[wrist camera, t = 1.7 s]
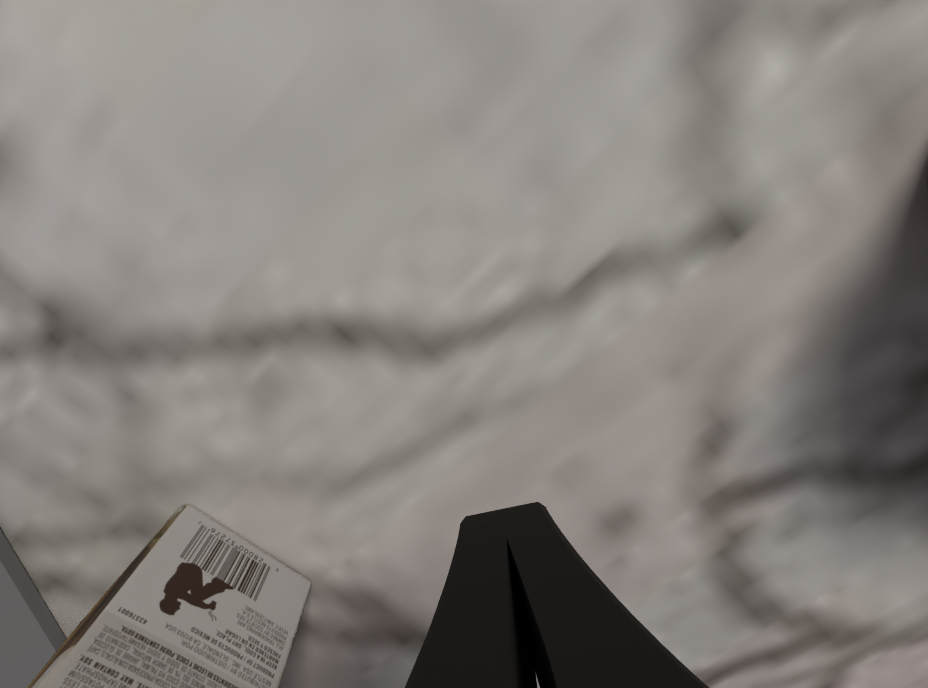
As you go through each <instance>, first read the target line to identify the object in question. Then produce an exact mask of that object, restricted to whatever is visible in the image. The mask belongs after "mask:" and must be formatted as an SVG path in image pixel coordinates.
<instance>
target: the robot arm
mask: <svg viewBox="0 0 928 688" xmlns="http://www.w3.org/2000/svg"><path fill="white" fill-rule="evenodd" d="M535 671H536V673H535ZM536 675H537V678H538V682H539V685H540V688H709V687H708V686H707V685H705V684H704V683H703V682H702V681H701V680H700V679H699V678H697V677H696V676H695V675H694V674H693V673H692V672H691V671H690V670H689V669H688V668H687V667H686V666H684V665H683V664H682V663H681V662H680V661H679V660H678V659H677V658H676V657H675V656H674V655H673V654H672V653H671V652H670V651H669V650H667V649H666V648H665V647H664V646H663V645H662V644H661V643H660V642H659V641H658V640H657V639H656V638H655V637H654V636H653V635H652V634H651V633H650V632H649V631H648V630H647V629H646V628H645V627H644V626H643V625H642V624H641V623H640V622H639V621H638V620H637V619H636V618H635V617H634V616H633V615H632V614H631V613H630V612H629V611H628V609H627V608H626V607H625V606H624V605H623V604H622V603H621V602H620V601H619V600H618V599H617V598H616V597H615V596H614V594H613V593H612V592H611V591H610V590H609V589H608V588H607V587H606V585H605V584H604V583H603V582H602V581H601V580H600V579H599V578H598V576H597V575H596V574H595V573H594V572H593V571H592V570H591V569H590V567H589V566H588V565H587V564H586V563H585V561H584V560H583V559H582V558H581V557H580V555H579V554H578V553H577V552H576V550H575V549H574V548H573V546H572V545H571V544H570V543H569V541H568V540H567V539H566V537H565V536H564V535H563V533H562V532H561V531H560V529H559V528H558V526H557V525H556V523H555V522H554V520H553V519H552V517H551V516H550V514H549V512H548V511H547V509H546V507H545V506H544V505H542V504H540V503H539V502H535V503H530V504H525V505H520V506H515V507H510V508H505V509H500V510H495V511H490V512H485V513H481V514H476V515H471V516H466V517H465V518H464V520H463V521H462V522H461V524H460V529H459V535H458V540H457V544H456V548H455V552H454V556H453V559H452V563H451V566H450V570H449V573H448V576H447V579H446V583H445V586H444V588H443V591H442V594H441V597H440V600H439V603H438V606H437V609H436V611H435V614H434V617H433V620H432V623H431V625H430V628H429V631H428V633H427V636H426V638H425V641H424V643H423V645H422V648H421V650H420V653H419V655H418V657H417V660H416V662H415V665H414V667H413V669H412V672H411V674H410V677H409V679H408V681H407V684H406V686H405V688H537V682H536Z"/></svg>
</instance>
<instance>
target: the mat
mask: <svg viewBox="0 0 928 688" xmlns="http://www.w3.org/2000/svg"><path fill="white" fill-rule="evenodd" d="M65 641H66V638H65V636H64V634H63V632H62V631H61V629H60V627H59V626H58V624H57V622H56V621H55V619H54V617H53V616H52V614H51V612H50V611H49V609H48V607H47V606H46V604H45V602H44V601H43V599H42V597H41V596H40V594H39V592H38V591H37V589H36V587H35V586H34V584H33V582H32V581H31V579H30V577H29V576H28V574H27V572H26V571H25V569H24V567H23V565H22V564H21V562H20V560H19V559H18V557H17V555H16V554H15V552H14V550H13V549H12V547H11V545H10V544H9V542H8V540H7V539H6V537H5V535H4V534H3V532H2V530H1V529H0V688H27V687H28V685H29V684H30V683H31V682H32V680H33V679H34V678H35V677H36V676H37V674H38V673H39V672H40V671H41V669H42V668H43V667H44V666H45V665H46V663H47V662H48V661H49V660H50V659H51V657H52V656H53V655H54V654H55V653H56V651H57V650H58V649H59V648H60V647H61V645H62V644H63V643H64V642H65Z"/></svg>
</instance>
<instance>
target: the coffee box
mask: <svg viewBox="0 0 928 688" xmlns="http://www.w3.org/2000/svg"><path fill="white" fill-rule="evenodd" d="M310 587H311V582H310V581H309V580H308V579H306V578H305V577H303V576H302V575H300V574H298V573H297V572H295V571H294V570H292V569H290V568H289V567H287V566H286V565H284V564H282V563H281V562H279V561H278V560H276V559H275V558H273V557H272V556H270V555H268V554H267V553H265V552H264V551H262V550H261V549H259V548H257V547H256V546H254V545H253V544H251V543H250V542H248V541H246V540H245V539H243V538H242V537H240V536H239V535H237V534H235V533H234V532H232V531H231V530H229V529H227V528H226V527H224V526H223V525H221V524H220V523H218V522H217V521H215V520H213V519H212V518H210V517H208V516H207V515H205V514H204V513H202V512H201V511H199V510H197V509H196V508H194V507H193V506H191V505H183V506H181V507H180V508H178V510H177V511H176V512H175V513H174V514H173V515H172V516H171V517H170V519H169V520H168V521H167V522H166V523H165V524H164V526H163V527H162V528H161V529H160V530H159V531H158V533H157V534H156V535H155V536H154V537H153V538H152V540H151V541H150V542H149V543H148V544H147V545H146V547H145V548H144V549H143V550H142V551H141V552H140V554H139V555H138V556H137V557H136V558H135V559H134V561H133V562H132V563H131V564H130V565H129V566H128V568H127V569H126V570H125V571H124V572H123V573H122V575H121V576H120V577H119V578H118V579H117V580H116V582H115V583H114V584H113V585H112V586H111V587H110V589H109V590H108V591H107V592H106V593H105V594H104V596H103V597H102V598H101V599H100V600H99V601H98V603H97V604H96V605H95V606H94V607H93V609H92V610H91V611H90V612H89V613H88V614H87V616H86V617H85V618H84V619H83V620H82V621H81V622H80V624H79V625H78V626H77V628H76V629H75V630H74V631H73V632H72V633H71V635H70V636H69V637H68V638H67V639H66V641H65V642H64V643H63V644H62V645H61V647H60V648H59V649H58V650H57V651H56V653H55V654H54V655H53V656H52V657H51V659H50V660H49V661H48V662H47V663H46V665H45V666H44V667H43V668H42V669H41V671H40V672H39V673H38V674H37V676H36V677H35V678H34V679H33V680H32V682H31V683H30V684H29V685H28V687H27V688H279V685H280V682H281V679H282V676H283V673H284V670H285V666H286V663H287V660H288V656H289V653H290V651H291V648H292V645H293V641H294V638H295V635H296V632H297V629H298V625H299V622H300V619H301V616H302V612H303V609H304V606H305V603H306V600H307V597H308V594H309V590H310Z"/></svg>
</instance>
